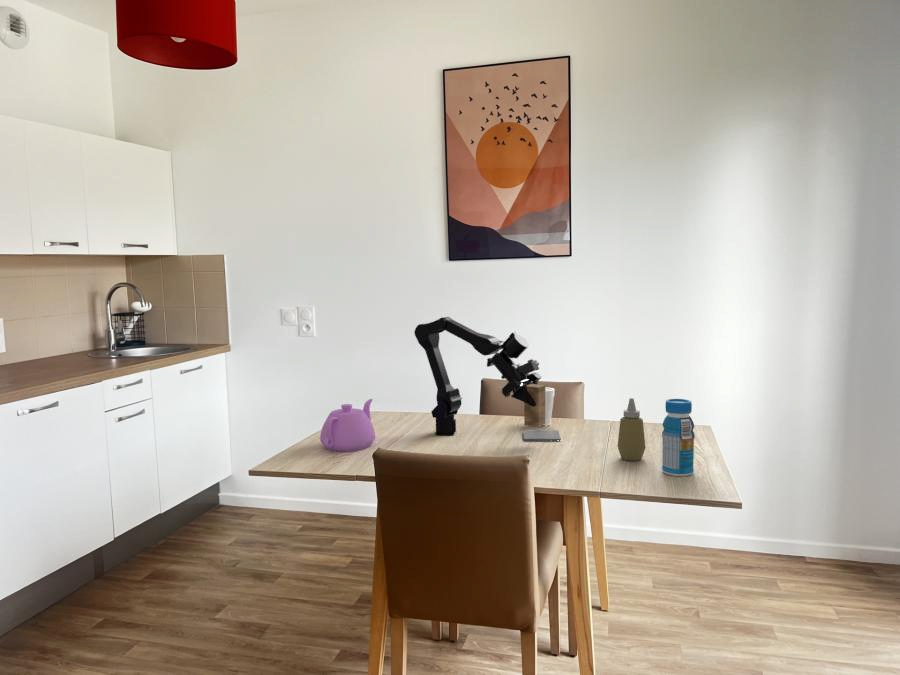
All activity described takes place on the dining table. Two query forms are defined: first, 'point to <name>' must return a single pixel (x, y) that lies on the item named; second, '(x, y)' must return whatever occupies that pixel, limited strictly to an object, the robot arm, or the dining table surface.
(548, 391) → the foam cup
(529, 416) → the walnut block
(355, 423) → the teapot
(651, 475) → the dining table surface
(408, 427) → the dining table surface
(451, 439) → the dining table surface
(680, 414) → the beverage bottle
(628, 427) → the squeeze bottle
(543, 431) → the slate coaster
